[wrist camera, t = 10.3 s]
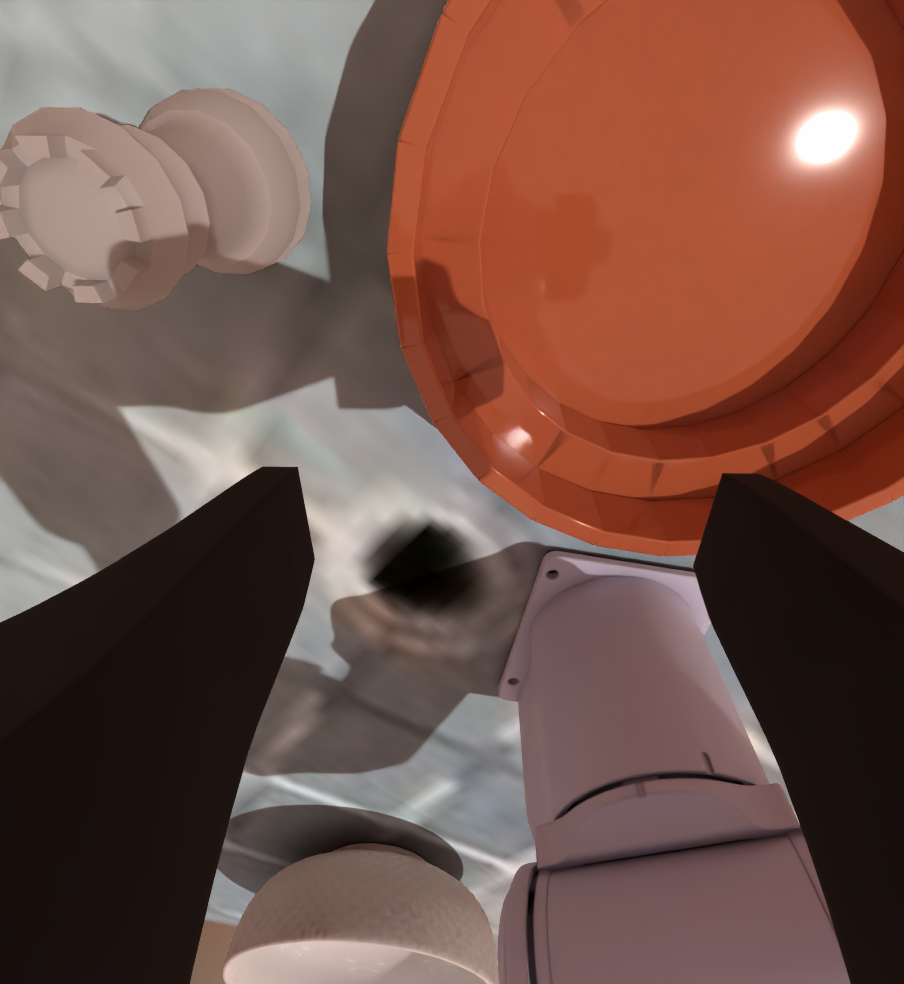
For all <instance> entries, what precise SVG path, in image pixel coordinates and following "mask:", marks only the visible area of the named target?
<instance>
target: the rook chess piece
mask: <svg viewBox="0 0 904 984" xmlns="http://www.w3.org/2000/svg"><path fill="white" fill-rule="evenodd" d="M0 200H1V205H0V239H5V238H9V237H13V236H14V237H15V238H16V240H17V241H18V242H19V244H20V245H21V246H22V247H23V249H24V250H25V251H26V253H27V254H28V255H29V257H30V258H31V259H29V260H27V261H26V262H25V263H24V264H23V265H22V266H21V267H20V268H19V269H18V270H19V271H20V272H21V273H23V274H24V275H25V276H26V277H28V278H29V279H30V280H32V281H33V282H34V283H36V284H37V285H38V286H40V287H41V288H42V289H44V290H45V291H47V290H50V289H52V288H55V287H58V286H60V285H61V286H62V287H64V288H65V289H66V290H68V291H69V292H70V293H72V294H73V295H74V299H75V303H95V304H97V305H100V306H102V307H105V308H107V309H137V310H141V309H143V308H145V307H148V306H150V305H152V304H154V303H156V302H158V301H160V300H162V299H165V298H167V297H168V296H169V294H170V293H171V291H172V290H173V288H174V287H175V286H176V284H177V283H178V281H179V280H180V278H181V277H182V276H183V274H185V273H187V272H189V271H191V270H192V269H193V268H194V267H195V265H196V264H197V265H199V266H202V267H204V268H207V269H209V270H211V271H214V272H217V273H236V274H251V273H253V272H255V271H257V270H262V269H264V268H266V267H268V266H270V265H273V264H275V263H277V262H279V261H281V260H283V259H286V258H287V256H288V255H289V254H290V253H291V251H292V250H293V249H294V248H295V246H296V245H297V244H298V243H299V241H300V240H301V239H302V237H303V236H304V233H305V229H306V225H307V221H308V217H309V213H310V209H311V197H310V188H309V180H308V172H307V168H306V165H305V163H304V161H303V159H302V157H301V155H300V153H299V151H298V148H297V146H296V144H295V142H294V140H293V138H292V136H291V134H290V133H289V132H288V130H287V129H286V128H285V127H284V126H283V125H282V124H281V123H280V122H279V121H278V120H277V119H276V118H275V117H274V116H273V115H272V114H271V113H270V112H269V111H268V109H267V108H266V107H265V106H264V105H262V104H260V103H258V102H256V101H254V100H252V99H250V98H248V97H246V96H244V95H241V94H239V93H237V92H235V91H233V90H231V89H194V90H181V91H179V92H177V93H176V94H174V95H172V96H171V97H169V98H167V99H165V100H164V101H162V102H160V103H158V104H157V105H155V106H154V107H153V108H151V109H150V111H149V113H148V114H147V116H146V118H145V120H144V121H143V123H142V125H141V127H140V128H139V129H138V128H136V127H134V126H132V125H117V124H115V123H113V122H111V121H108V120H106V119H104V118H102V117H100V116H97V115H95V114H93V113H91V112H89V111H86V110H84V109H82V108H40V109H39V110H37V111H35V112H34V113H32V114H30V115H29V116H27V117H26V118H24V119H22V120H21V121H19V122H17V123H16V124H14V125H13V126H12V128H11V130H10V132H9V135H8V137H7V139H6V141H5V143H4V146H3V148H2V149H0Z"/></svg>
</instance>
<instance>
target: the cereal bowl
mask: <svg viewBox="0 0 904 984" xmlns="http://www.w3.org/2000/svg"><path fill="white" fill-rule="evenodd" d="M223 979H224V981H225V983H226V984H499V978H498V965H497V953H496V945H495V942H494V938H493V932H492V929H491V927H490V924H489V921H488V918H487V916H486V914H485V912H484V910H483V909H482V908H481V906H480V903H479V902H478V901H477V900H476V899H475V897H474V895H473V894H472V893H471V892H470V891H469V890H468V889H467V887H465V886H464V885H463V884H462V883H461V882H460V881H458V880H456V879H455V878H454V877H453V876H451V875H449V874H448V873H447V872H445V871H442V870H441V869H439V868H438V867H435V866H433V865H431V864H430V863H428V862H427V861H425V860H424V859H423V858H422V857H420V856H418V855H417V854H415V853H413V852H411V851H408V850H406V849H403V848H399V847H396V846H391V845H385V844H378V843H360V844H352V845H348V846H344V847H341V848H338V849H336V850H334V851H332V852H327V853H324V854H318V855H315V856H311V857H308V858H304V859H302V860H301V861H298V862H295V863H294V864H292V865H290V866H287V867H285V868H284V869H283V870H281V871H279V872H278V873H277V874H276V875H275V876H273V877H271V878H270V879H269V881H268V882H267V883H266V884H264V885H263V886H262V887H261V889H260V890H259V891H258V892H257V893H256V894H255V896H254V897H253V899H252V900H251V902H250V903H249V904H248V906H247V909H246V910H245V912H244V914H243V915H242V917H241V920H240V922H239V924H238V926H237V928H236V931H235V933H234V936H233V938H232V941H231V943H230V947H229V949H228V952H227V955H226V958H225V961H224V966H223Z"/></svg>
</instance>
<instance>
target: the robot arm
mask: <svg viewBox="0 0 904 984" xmlns="http://www.w3.org/2000/svg"><path fill="white" fill-rule="evenodd" d="M314 560H315V558H314V552H313V547H312V542H311V536H310V531H309V525H308V520H307V515H306V509H305V504H304V499H303V493H302V488H301V482H300V477H299V472H298V467H261V468H260V469H258V470H256V471H254V472H253V473H251V474H249V475H248V476H246V477H245V478H243V479H242V480H240V481H239V482H237V483H236V484H234V485H233V486H231V487H230V488H228V489H227V490H225V491H224V492H222V493H221V494H219V495H218V496H217V497H215V498H214V499H212V500H211V501H209V502H208V503H206V504H205V505H203V506H202V507H200V508H199V509H197V510H196V511H195V512H193V513H192V514H190V515H189V516H187V517H186V518H184V519H183V520H181V521H180V522H178V523H177V524H175V525H174V526H172V527H171V528H169V529H168V530H166V531H165V532H163V533H161V534H160V535H158V536H157V537H155V538H153V539H152V540H150V541H149V542H147V543H145V544H144V545H142V546H140V547H139V548H137V549H136V550H134V551H132V552H131V553H129V554H128V555H126V556H124V557H123V558H121V559H120V560H118V561H116V562H115V563H113V564H112V565H110V566H108V567H106V568H105V569H103V570H101V571H99V572H98V573H96V574H94V575H92V576H91V577H89V578H87V579H85V580H83V581H82V582H80V583H78V584H76V585H74V586H72V587H71V588H69V589H67V590H65V591H63V592H61V593H59V594H57V595H55V596H53V597H51V598H49V599H48V600H46V601H44V602H42V603H40V604H38V605H36V606H34V607H32V608H30V609H28V610H26V611H24V612H22V613H20V614H18V615H16V616H14V617H11V618H9V619H7V620H5V621H3V622H0V984H190V980H191V975H192V970H193V966H194V962H195V957H196V953H197V949H198V945H199V941H200V936H201V932H202V928H203V924H204V919H205V915H206V911H207V907H208V902H209V898H210V894H211V890H212V885H213V881H214V877H215V874H216V870H217V866H218V862H219V858H220V854H221V850H222V846H223V843H224V839H225V835H226V831H227V827H228V823H229V819H230V816H231V812H232V808H233V805H234V801H235V798H236V794H237V790H238V787H239V783H240V780H241V776H242V773H243V769H244V765H245V762H246V758H247V755H248V751H249V748H250V746H251V743H252V740H253V737H254V734H255V731H256V728H257V725H258V722H259V720H260V717H261V715H262V712H263V710H264V707H265V705H266V702H267V700H268V697H269V695H270V692H271V689H272V687H273V684H274V682H275V679H276V677H277V674H278V672H279V669H280V667H281V664H282V662H283V659H284V656H285V654H286V651H287V649H288V646H289V644H290V641H291V638H292V636H293V633H294V631H295V628H296V625H297V623H298V620H299V618H300V615H301V612H302V609H303V606H304V602H305V598H306V594H307V590H308V586H309V582H310V578H311V573H312V569H313V564H314ZM693 567H694V571H695V572H688V571H682V570H676V569H669V568H663V567H656V566H650V565H644V564H637V563H631V562H625V561H618V560H612V559H606V558H599V557H593V556H587V555H580V554H574V553H567V552H561V551H552V552H549V553H547V554H546V555H545V556H544V558H543V560H542V563H541V566H540V569H539V572H538V574H537V577H536V580H535V583H534V586H533V589H532V592H531V595H530V598H529V600H528V603H527V606H526V609H525V612H524V615H523V618H522V621H521V624H520V626H519V629H518V632H517V635H516V638H515V641H514V644H513V647H512V650H511V652H510V655H509V658H508V661H507V664H506V667H505V670H504V673H503V676H502V678H501V681H500V684H499V688H498V690H499V696H500V697H501V698H503V699H505V700H511V701H518V707H519V721H520V734H521V747H522V760H523V773H524V786H525V800H526V811H527V817H528V823H529V827H530V830H531V833H532V835H533V838H534V840H535V846H536V858H537V862H534V863H528V864H525V865H523V866H521V867H520V868H519V869H518V871H517V872H516V874H515V876H514V879H513V881H512V884H511V888H510V890H509V891H508V893H507V895H506V898H505V900H504V903H503V907H502V911H501V917H500V924H499V936H498V978H499V984H904V552H902V551H900V550H898V549H897V548H895V547H893V546H891V545H889V544H888V543H886V542H884V541H882V540H880V539H879V538H877V537H875V536H873V535H871V534H870V533H868V532H866V531H864V530H863V529H861V528H859V527H857V526H856V525H854V524H852V523H850V522H849V521H847V520H845V519H843V518H842V517H840V516H838V515H836V514H835V513H833V512H831V511H829V510H828V509H826V508H824V507H822V506H821V505H819V504H817V503H815V502H814V501H812V500H810V499H808V498H807V497H805V496H803V495H801V494H799V493H797V492H796V491H794V490H792V489H790V488H788V487H786V486H784V485H783V484H781V483H779V482H777V481H775V480H773V479H770V478H768V477H766V476H764V475H761V474H746V473H722V476H721V479H720V482H719V485H718V489H717V492H716V495H715V498H714V501H713V504H712V508H711V511H710V514H709V517H708V520H707V524H706V527H705V530H704V533H703V536H702V539H701V543H700V546H699V549H698V552H697V555H696V559H695V562H694V565H693ZM550 570H556V572H554V573H548V571H550ZM711 623H712V625H713V628H714V630H715V632H716V634H717V636H718V638H719V640H720V642H721V645H722V647H723V649H724V651H725V653H726V655H727V657H728V659H729V661H730V664H731V666H732V668H733V670H734V672H735V674H736V676H737V678H738V680H739V682H740V684H741V686H742V688H743V690H744V692H745V694H746V697H747V699H748V701H749V703H750V705H751V707H752V709H753V711H754V713H755V715H756V717H757V719H758V721H759V723H760V725H761V728H762V730H763V732H764V734H765V736H766V738H767V740H768V742H769V745H770V747H771V749H772V752H773V754H774V756H775V759H776V761H777V763H778V766H779V768H780V771H781V773H782V776H783V779H784V782H785V784H786V787H787V790H788V793H789V795H790V798H791V801H792V804H793V806H794V809H795V812H796V815H797V817H798V820H799V823H800V825H799V823H798V821H797V819H796V816H795V814H794V812H793V810H792V808H791V806H790V804H789V801H788V799H787V797H786V795H785V793H784V791H783V789H782V786H781V785H779V784H777V783H776V784H769V782H768V779H767V777H766V775H765V773H764V771H763V768H762V766H761V764H760V762H759V759H758V757H757V755H756V753H755V751H754V748H753V746H752V744H751V742H750V739H749V737H748V735H747V733H746V731H745V728H744V726H743V724H742V722H741V719H740V717H739V715H738V713H737V711H736V708H735V706H734V704H733V702H732V699H731V697H730V695H729V693H728V691H727V688H726V686H725V684H724V682H723V680H722V677H721V675H720V673H719V671H718V668H717V666H716V664H715V662H714V660H713V657H712V655H711V653H710V651H709V648H708V646H707V644H706V642H705V640H704V637H703V636H704V634H705V632H706V631H707V629H708V628H709V626H710V624H711Z"/></svg>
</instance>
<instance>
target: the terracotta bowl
mask: <svg viewBox="0 0 904 984" xmlns="http://www.w3.org/2000/svg"><path fill="white" fill-rule="evenodd" d="M399 140H400V141H398V142H397V147H396V157H395V167H394V178H393V188H392V198H391V208H390V219H389V229H388V239H387V249H386V251H387V253H388V254H387V262H388V268H389V275H390V282H391V289H392V296H393V303H394V309H395V316H396V323H397V330H398V337H399V343H400V346H402V347H401V351H402V353H403V355H404V358H405V360H406V362H407V365H408V367H409V369H410V372H411V374H412V376H413V379H414V381H415V383H416V386H417V388H418V390H419V393H420V395H421V397H422V400H423V402H424V404H425V407H426V409H427V411H428V414H429V416H430V418H431V420H432V421H433V423H434V425H435V426H436V428H437V429H438V430H439V431H440V433H441V434H442V435H443V437H444V438H445V439H446V440H447V442H448V443H449V444H450V445H451V447H452V448H453V449H454V450H455V452H456V453H457V454H458V455H459V457H460V458H461V459H462V461H463V462H464V463H465V464H466V466H467V467H468V468H469V469H470V471H471V472H472V473H473V474H474V476H475V477H476V478H477V479H478V480H479V481H480V482H481V483H482V484H484V485H485V486H486V487H488V488H489V489H491V490H492V491H493V492H495V493H496V494H497V495H499V496H500V497H501V498H503V499H504V500H505V501H507V502H508V503H510V504H511V505H512V506H514V507H515V508H516V509H518V510H519V511H520V512H522V513H523V514H524V515H526V516H527V517H528V518H530V519H531V520H534V521H536V522H538V523H541V524H543V525H546V526H548V527H551V528H553V529H555V530H558V531H560V532H563V533H565V534H568V535H570V536H573V537H575V538H578V539H580V540H583V541H585V542H588V543H590V544H592V545H595V544H596V545H597V546H601V547H607V548H613V549H620V550H626V551H632V552H638V553H645V554H651V555H657V556H663V555H664V556H685V555H697V552H698V549H699V546H700V543H701V539H702V536H703V533H704V530H705V527H706V524H707V520H708V517H709V514H710V511H711V508H712V504H713V501H714V498H715V495H716V492H717V489H718V485H719V482H720V479H721V476H722V473H746V474H761V475H764V476H766V477H768V478H770V479H773V480H775V481H777V482H779V483H781V484H783V485H784V486H786V487H788V488H790V489H792V490H794V491H796V492H797V493H799V494H801V495H803V496H805V497H807V498H808V499H810V500H812V501H814V502H815V503H817V504H819V505H821V506H822V507H824V508H826V509H828V510H829V511H831V512H833V513H835V514H836V515H838V516H840V517H842V518H843V519H845V520H847V521H848V520H850V519H853V518H855V517H858V516H860V515H862V514H865V513H867V512H869V511H872V510H874V509H877V508H879V507H881V506H884V505H886V504H888V503H891V502H892V500H897V499H898V498H900V497H901V496H903V495H904V0H448V1H447V3H446V5H445V6H444V8H443V14H441V15H440V17H439V19H438V22H437V25H436V28H435V31H434V34H433V37H432V39H431V42H430V45H429V48H428V51H427V54H426V57H425V60H424V63H423V66H422V69H421V72H420V75H419V78H418V81H417V84H416V86H415V89H414V92H413V95H412V98H411V101H410V104H409V107H408V110H407V113H406V116H405V119H404V122H403V125H402V128H401V131H400V133H399Z"/></svg>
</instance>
